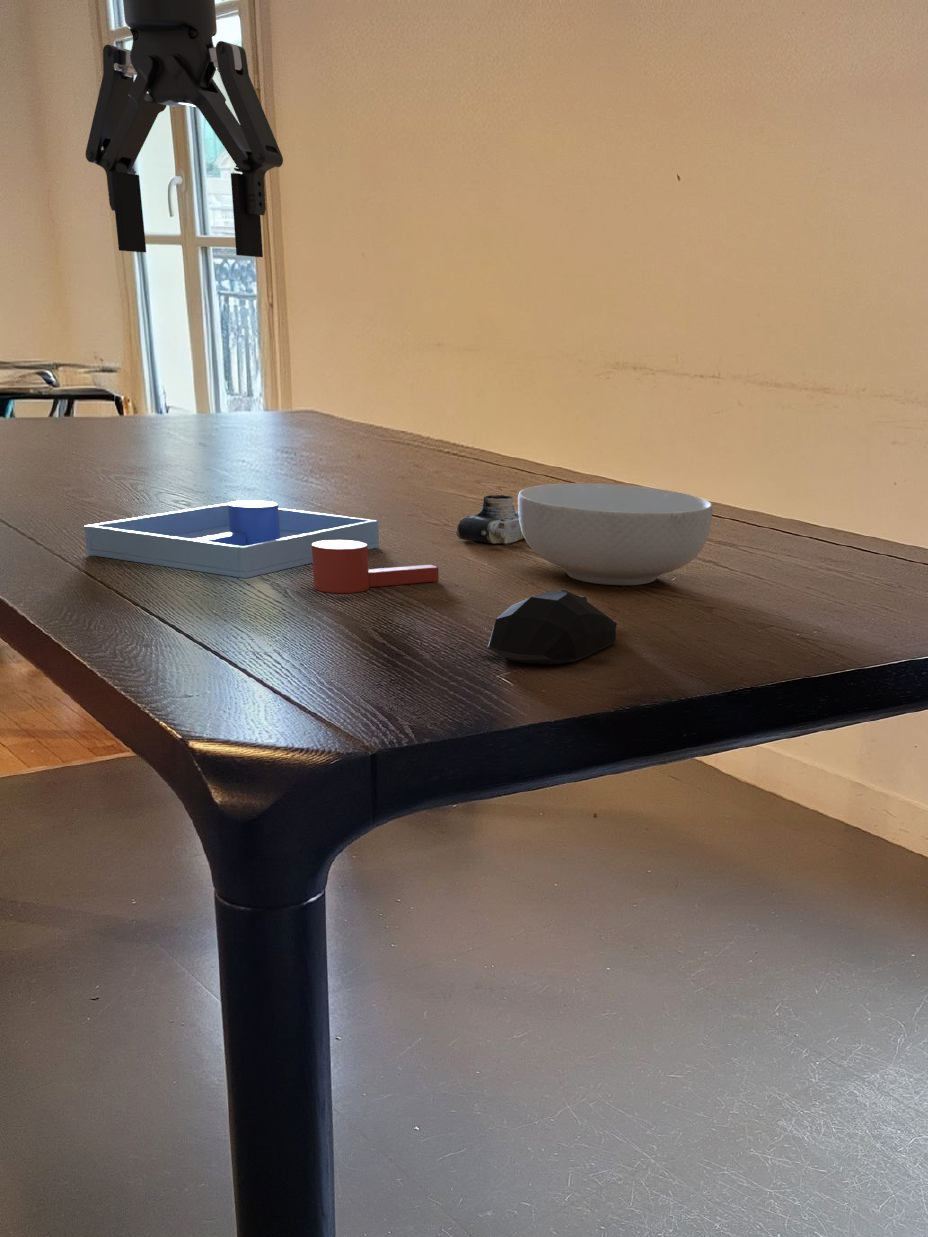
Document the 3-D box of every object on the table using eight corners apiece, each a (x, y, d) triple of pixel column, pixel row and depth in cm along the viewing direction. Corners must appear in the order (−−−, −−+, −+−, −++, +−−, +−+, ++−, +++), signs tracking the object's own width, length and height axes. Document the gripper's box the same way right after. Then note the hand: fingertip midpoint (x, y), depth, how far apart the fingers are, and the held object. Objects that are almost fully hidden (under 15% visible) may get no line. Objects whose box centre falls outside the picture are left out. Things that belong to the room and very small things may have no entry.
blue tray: (87, 554, 113) (83, 525, 112) (234, 527, 129) (232, 502, 128) (245, 578, 107) (243, 547, 106) (379, 547, 123) (378, 520, 122)
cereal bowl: (551, 599, 105) (552, 510, 102) (494, 562, 119) (494, 482, 116) (739, 593, 111) (745, 508, 108) (664, 558, 125) (668, 482, 122)
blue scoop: (252, 536, 122) (249, 498, 121) (290, 542, 121) (288, 503, 119) (171, 552, 113) (167, 511, 112) (211, 558, 112) (208, 516, 110)
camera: (551, 534, 135) (552, 493, 133) (495, 547, 126) (495, 503, 124) (510, 528, 137) (511, 487, 135) (453, 541, 128) (452, 497, 127)
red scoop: (327, 595, 103) (325, 550, 101) (305, 584, 106) (302, 541, 104) (447, 584, 109) (447, 542, 107) (423, 575, 112) (422, 534, 110)
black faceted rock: (652, 632, 96) (654, 578, 94) (551, 675, 84) (553, 613, 82) (577, 620, 98) (579, 567, 97) (469, 660, 86) (469, 600, 84)
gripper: (315, -16, 109) (327, 260, 118) (89, -5, 118) (116, 252, 126) (256, -39, 103) (274, 256, 111) (23, -25, 112) (55, 247, 120)
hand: (190, 254), depth 119 cm, fingers open, 13 cm apart
